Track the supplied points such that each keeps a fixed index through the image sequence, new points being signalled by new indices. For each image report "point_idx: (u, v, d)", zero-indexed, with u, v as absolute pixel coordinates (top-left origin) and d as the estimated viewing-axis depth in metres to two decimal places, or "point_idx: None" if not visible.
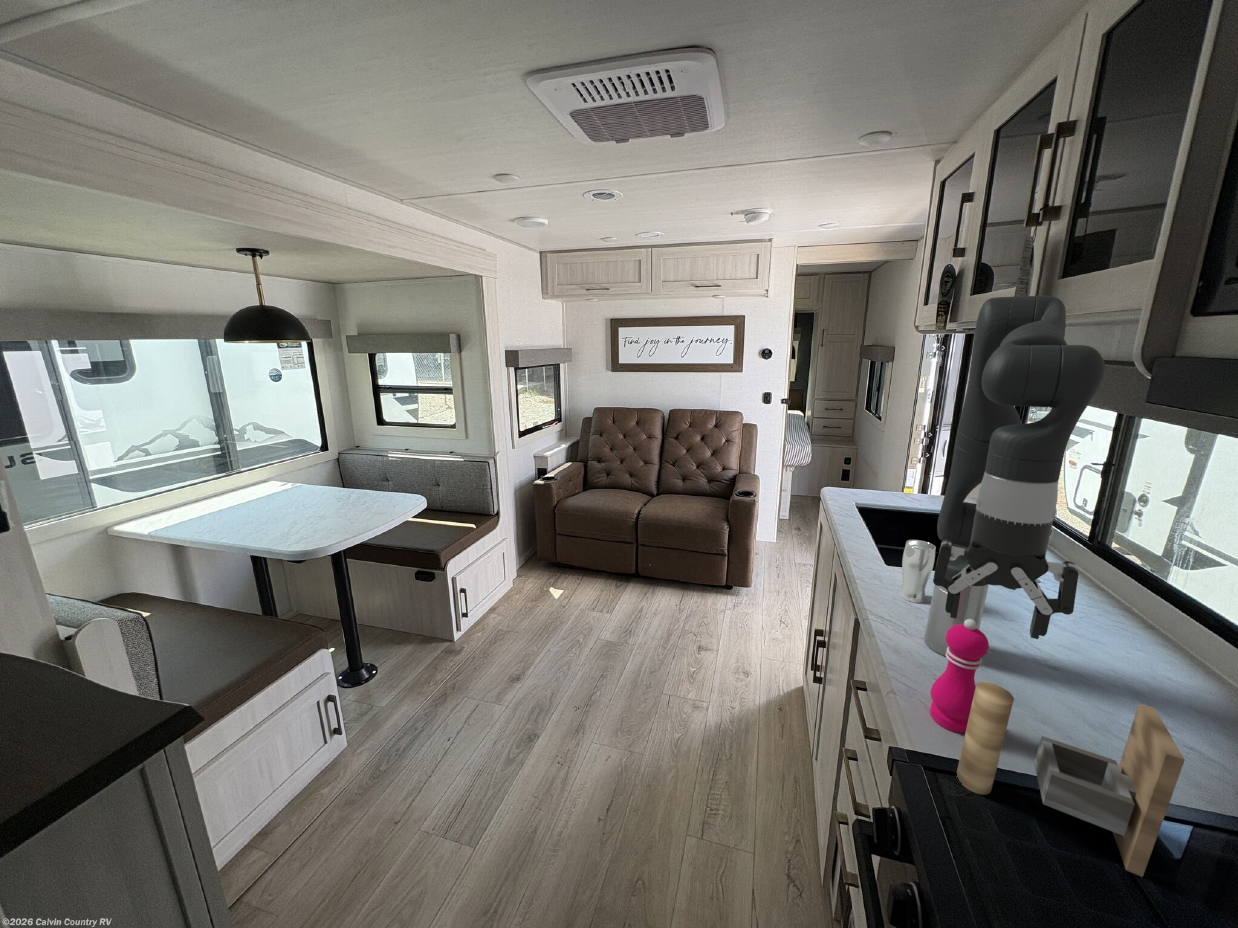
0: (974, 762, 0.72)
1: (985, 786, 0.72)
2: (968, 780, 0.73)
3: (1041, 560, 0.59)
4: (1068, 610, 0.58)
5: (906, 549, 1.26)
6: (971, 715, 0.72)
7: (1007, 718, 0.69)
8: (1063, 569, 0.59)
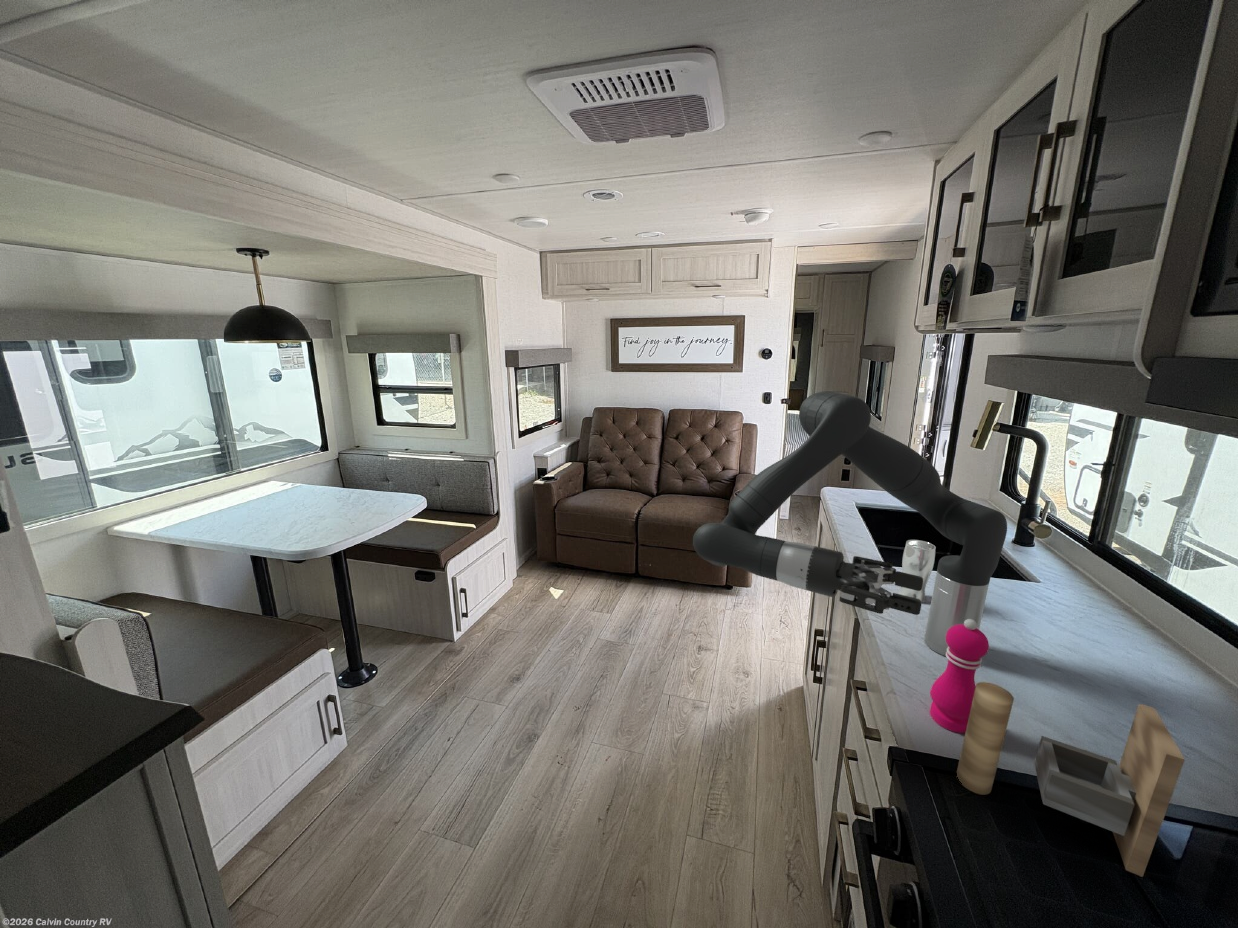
0: (974, 762, 0.72)
1: (985, 786, 0.72)
2: (968, 780, 0.73)
3: None
4: (878, 612, 0.71)
5: (906, 549, 1.26)
6: (971, 715, 0.72)
7: (1007, 718, 0.69)
8: None
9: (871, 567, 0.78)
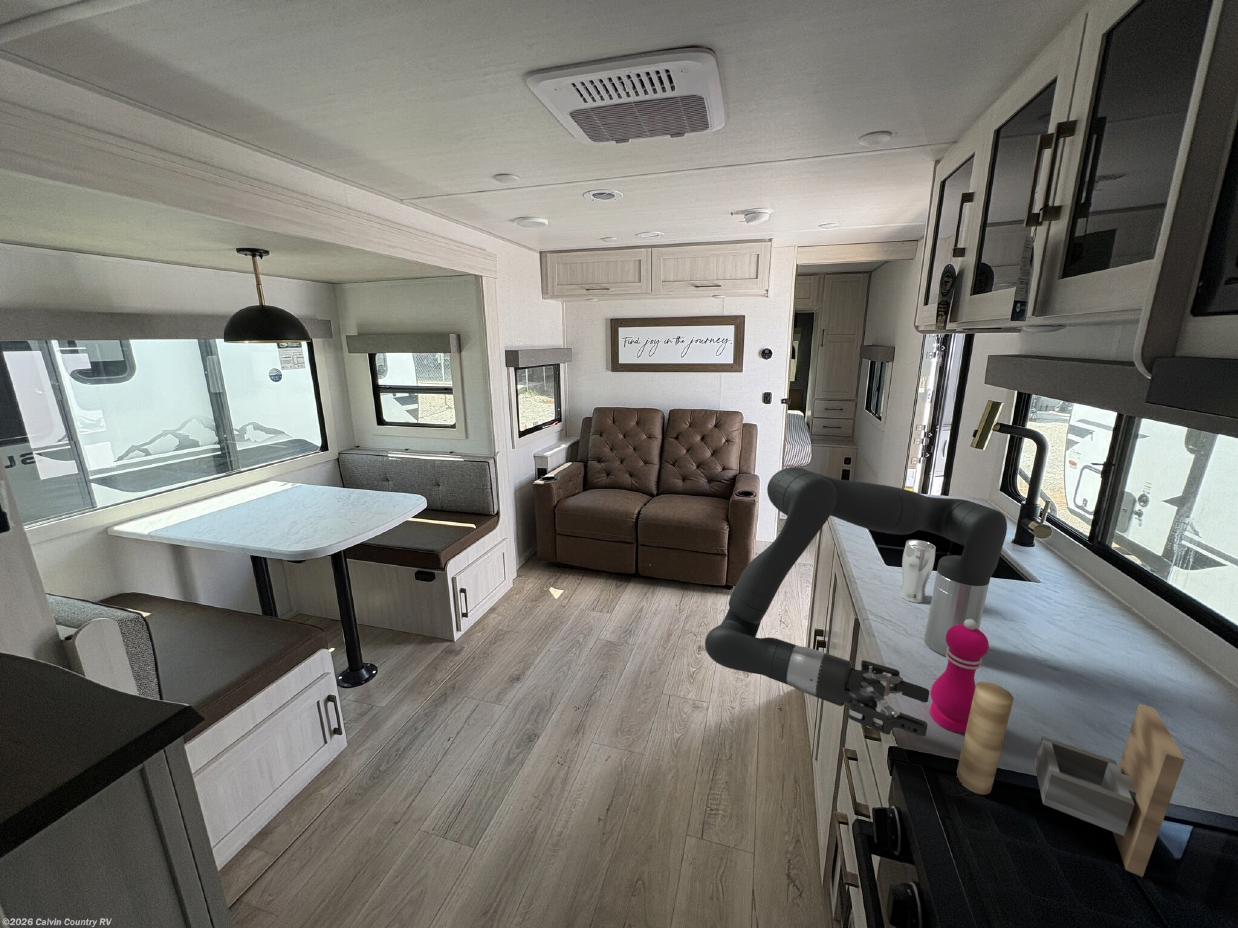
0: (974, 762, 0.72)
1: (985, 786, 0.72)
2: (968, 780, 0.73)
3: None
4: None
5: (906, 549, 1.26)
6: (971, 715, 0.72)
7: (1007, 718, 0.69)
8: None
9: (878, 678, 0.81)
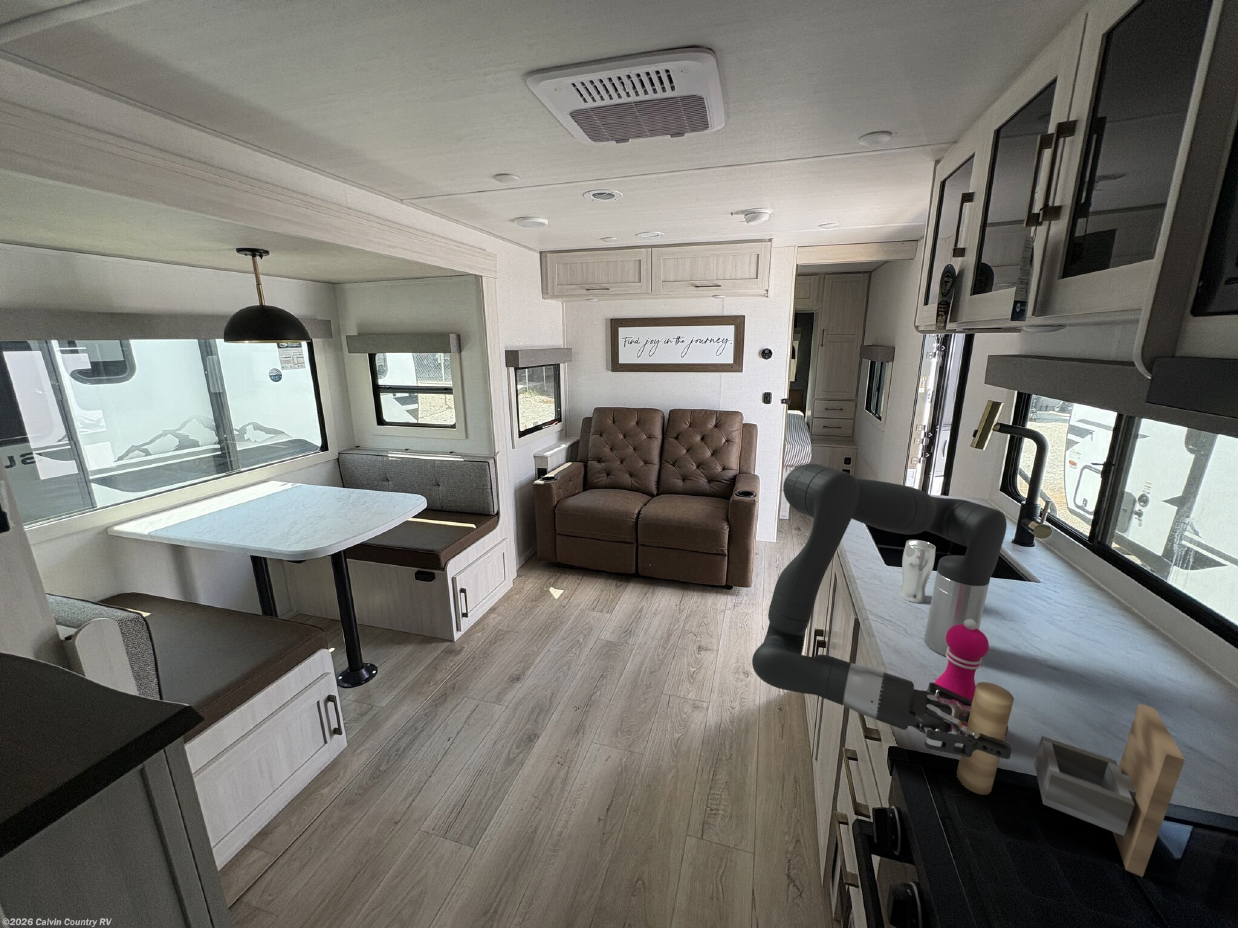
0: (974, 762, 0.72)
1: (985, 786, 0.72)
2: (968, 780, 0.73)
3: None
4: None
5: (906, 549, 1.26)
6: (971, 715, 0.72)
7: (1007, 718, 0.69)
8: None
9: (945, 702, 0.76)
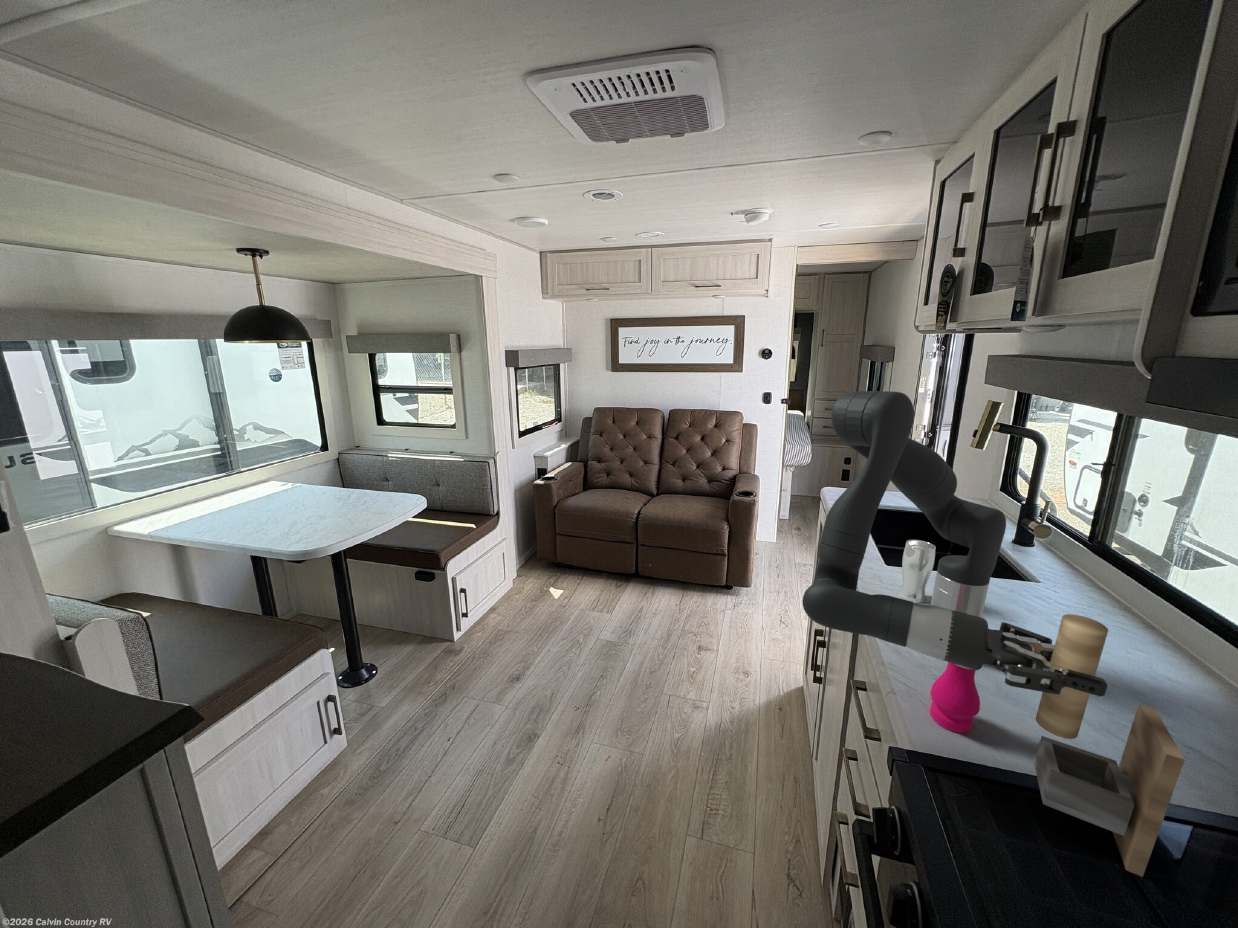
0: (1060, 702, 0.65)
1: (1072, 729, 0.65)
2: (1052, 723, 0.66)
3: None
4: None
5: (906, 549, 1.26)
6: (1056, 650, 0.65)
7: (1100, 651, 0.62)
8: None
9: (1023, 640, 0.69)
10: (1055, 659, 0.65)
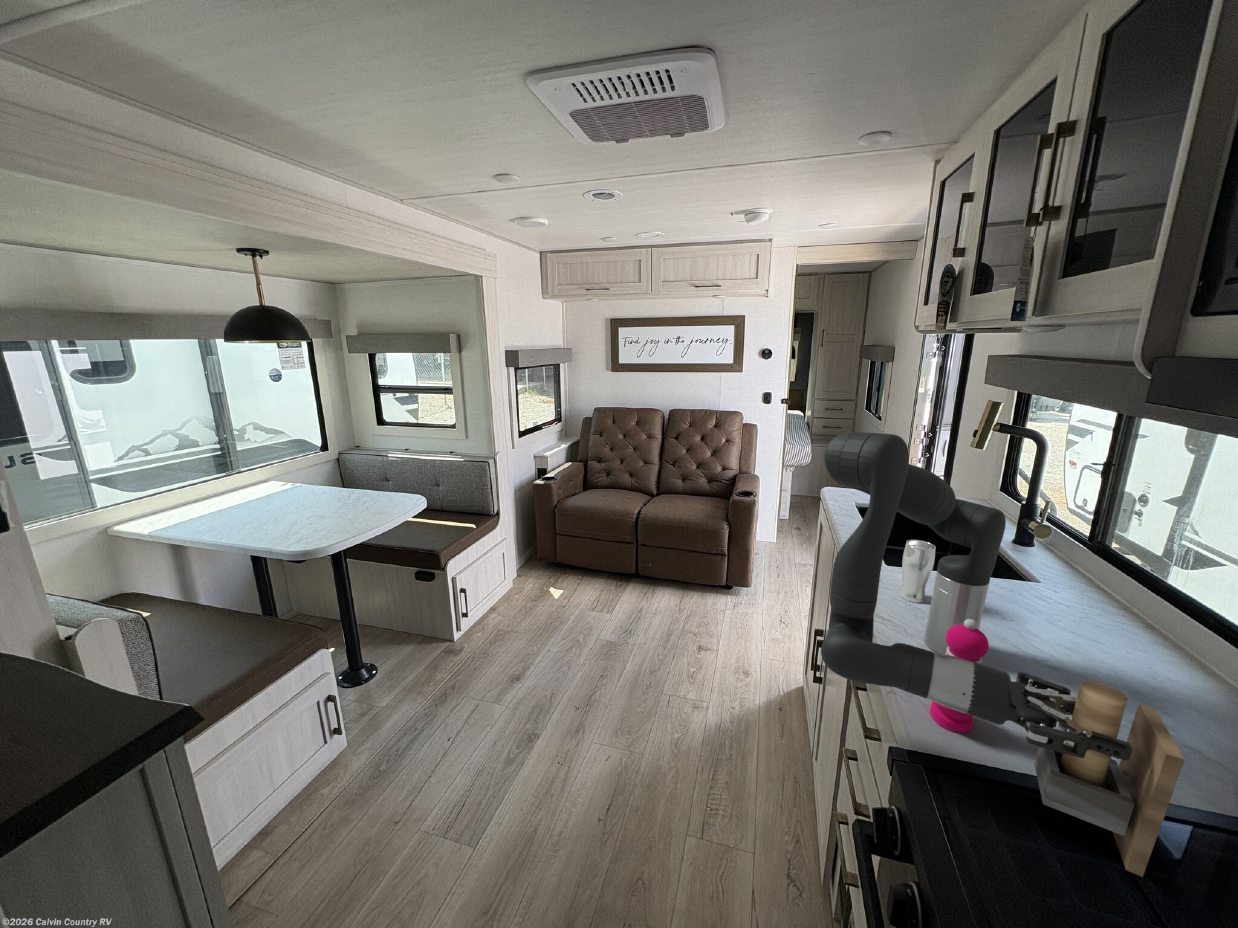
0: (1080, 769, 0.65)
1: None
2: None
3: None
4: None
5: (906, 549, 1.26)
6: (1075, 717, 0.65)
7: (1120, 720, 0.62)
8: None
9: (1045, 693, 0.69)
10: None
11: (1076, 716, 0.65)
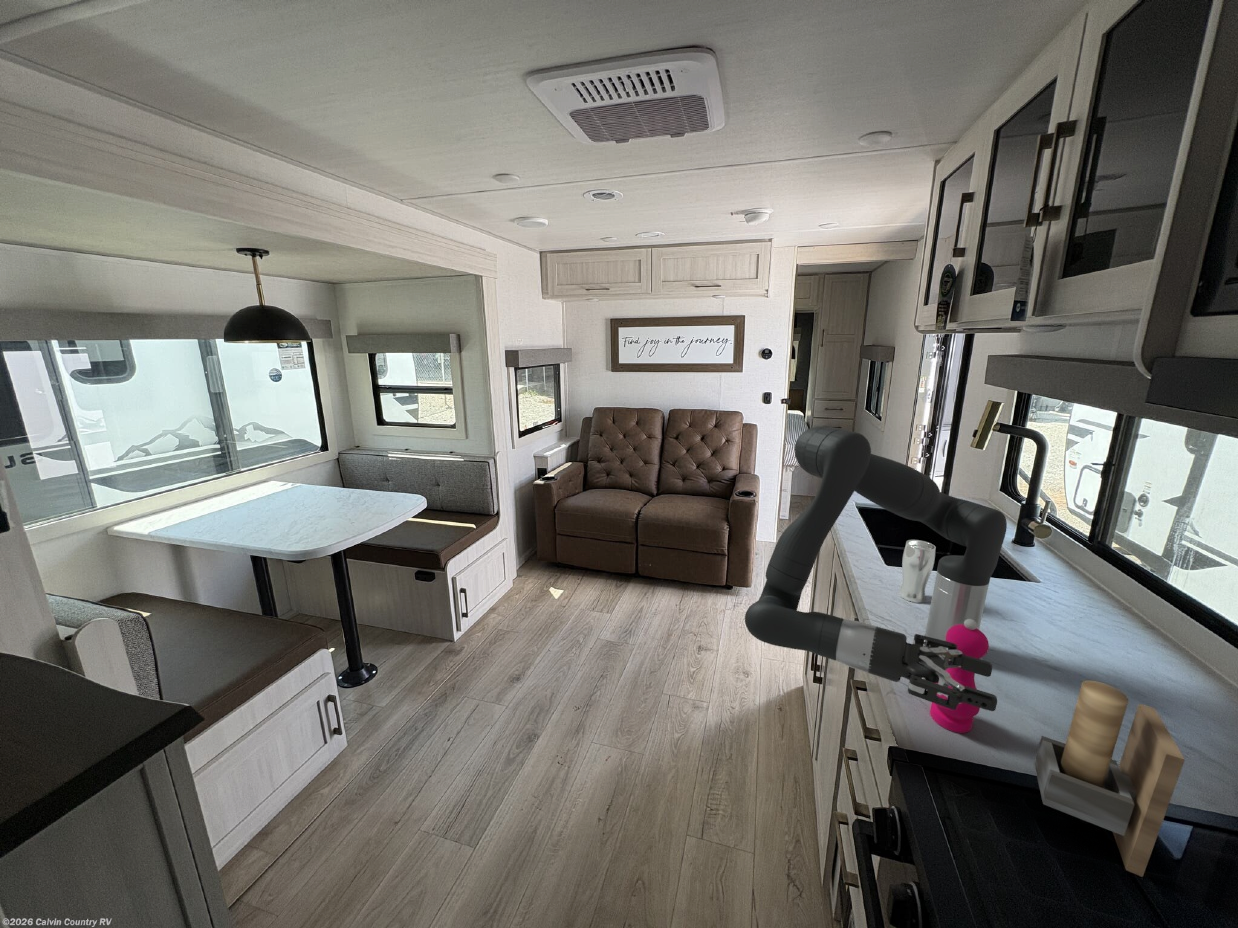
0: (1081, 769, 0.65)
1: None
2: None
3: None
4: None
5: (906, 549, 1.26)
6: (1076, 717, 0.65)
7: (1121, 720, 0.62)
8: None
9: (936, 651, 0.76)
10: (1075, 726, 0.65)
11: (1077, 716, 0.65)
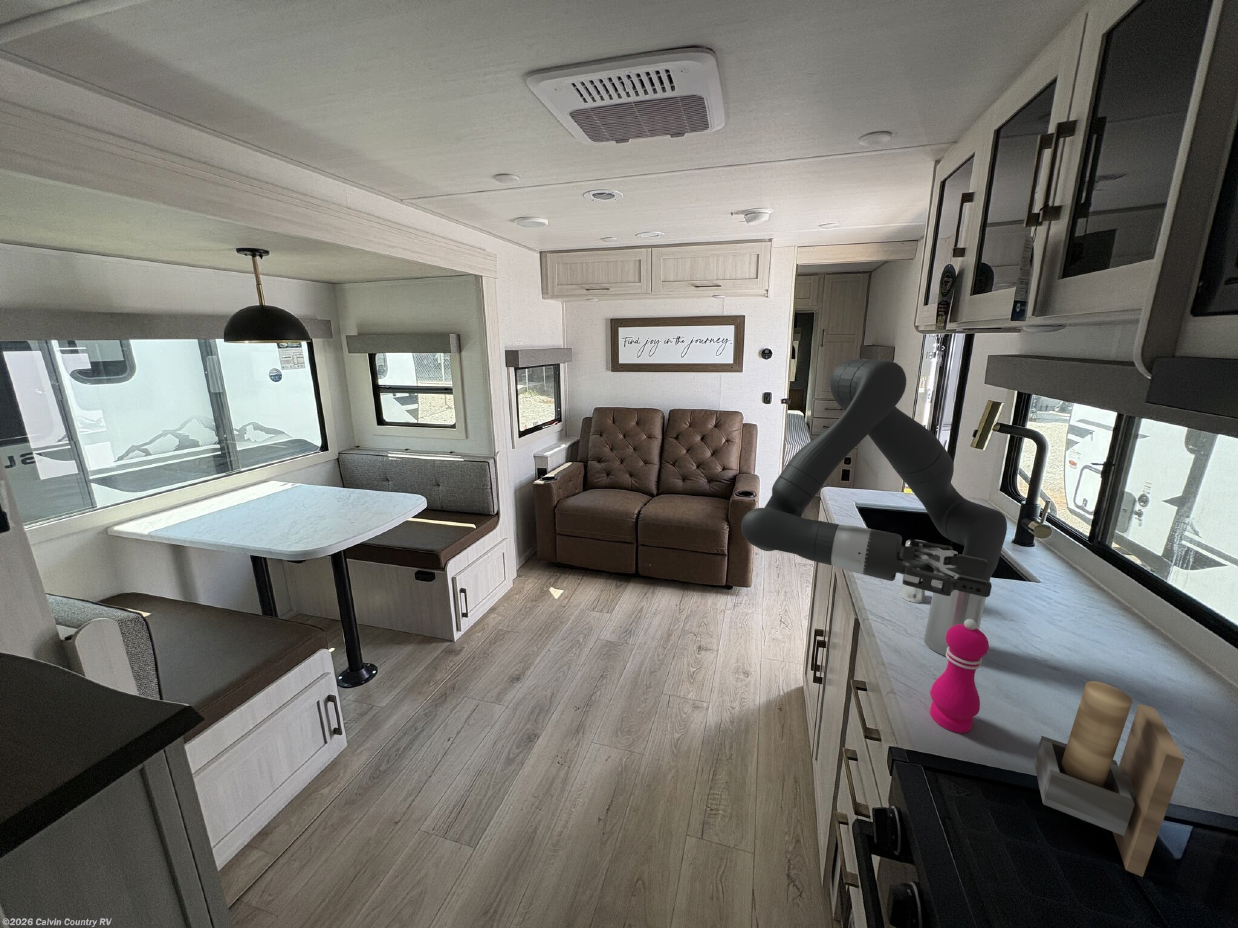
0: (1082, 769, 0.65)
1: None
2: None
3: None
4: (945, 595, 0.68)
5: None
6: (1079, 718, 0.65)
7: (1124, 722, 0.62)
8: None
9: (931, 550, 0.76)
10: (1078, 726, 0.65)
11: (1080, 716, 0.65)
